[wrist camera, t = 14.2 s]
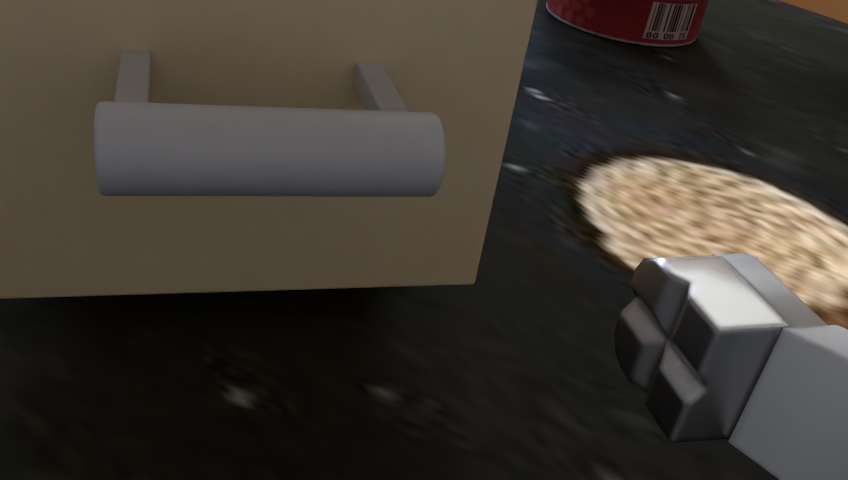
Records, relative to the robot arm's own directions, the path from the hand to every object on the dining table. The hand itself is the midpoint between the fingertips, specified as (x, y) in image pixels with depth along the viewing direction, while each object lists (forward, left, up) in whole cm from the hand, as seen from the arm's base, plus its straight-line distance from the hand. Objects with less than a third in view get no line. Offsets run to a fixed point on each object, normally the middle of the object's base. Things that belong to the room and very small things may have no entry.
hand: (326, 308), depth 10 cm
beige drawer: (0, +15, -7) cm, 16 cm away
